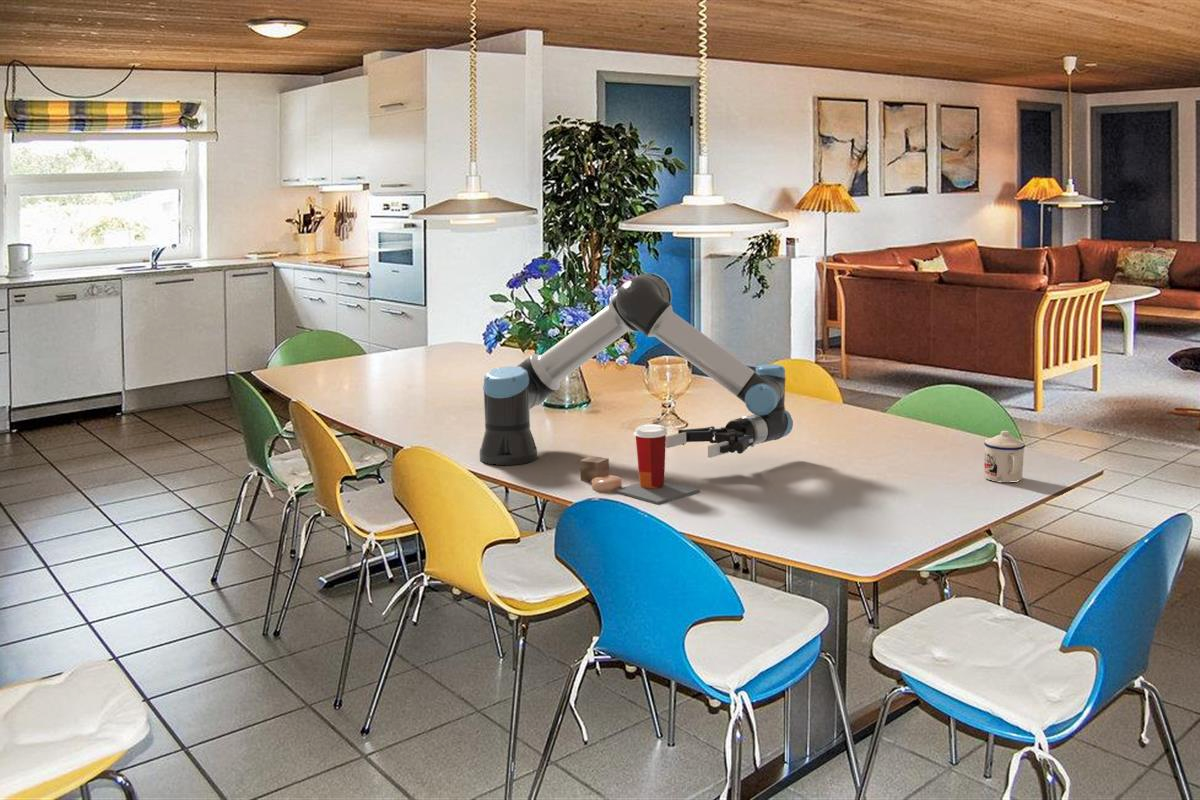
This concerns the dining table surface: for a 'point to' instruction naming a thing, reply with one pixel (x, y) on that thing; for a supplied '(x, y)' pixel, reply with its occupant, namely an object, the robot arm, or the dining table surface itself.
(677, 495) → the mat
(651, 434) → the paper cup
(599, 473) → the walnut block
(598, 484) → the tan rounded disc
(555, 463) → the dining table surface
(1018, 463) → the teacup with lid
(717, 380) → the robot arm
